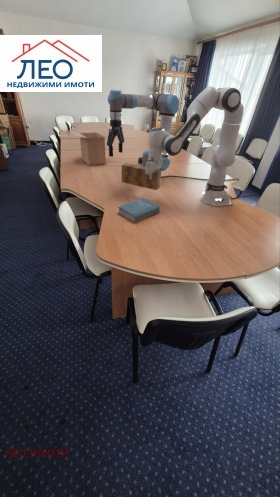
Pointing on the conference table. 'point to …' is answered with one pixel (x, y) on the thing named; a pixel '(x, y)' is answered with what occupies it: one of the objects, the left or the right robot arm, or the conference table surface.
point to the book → (138, 209)
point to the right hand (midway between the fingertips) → (153, 177)
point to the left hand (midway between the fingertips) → (115, 154)
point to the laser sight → (140, 160)
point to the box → (92, 146)
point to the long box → (140, 176)
